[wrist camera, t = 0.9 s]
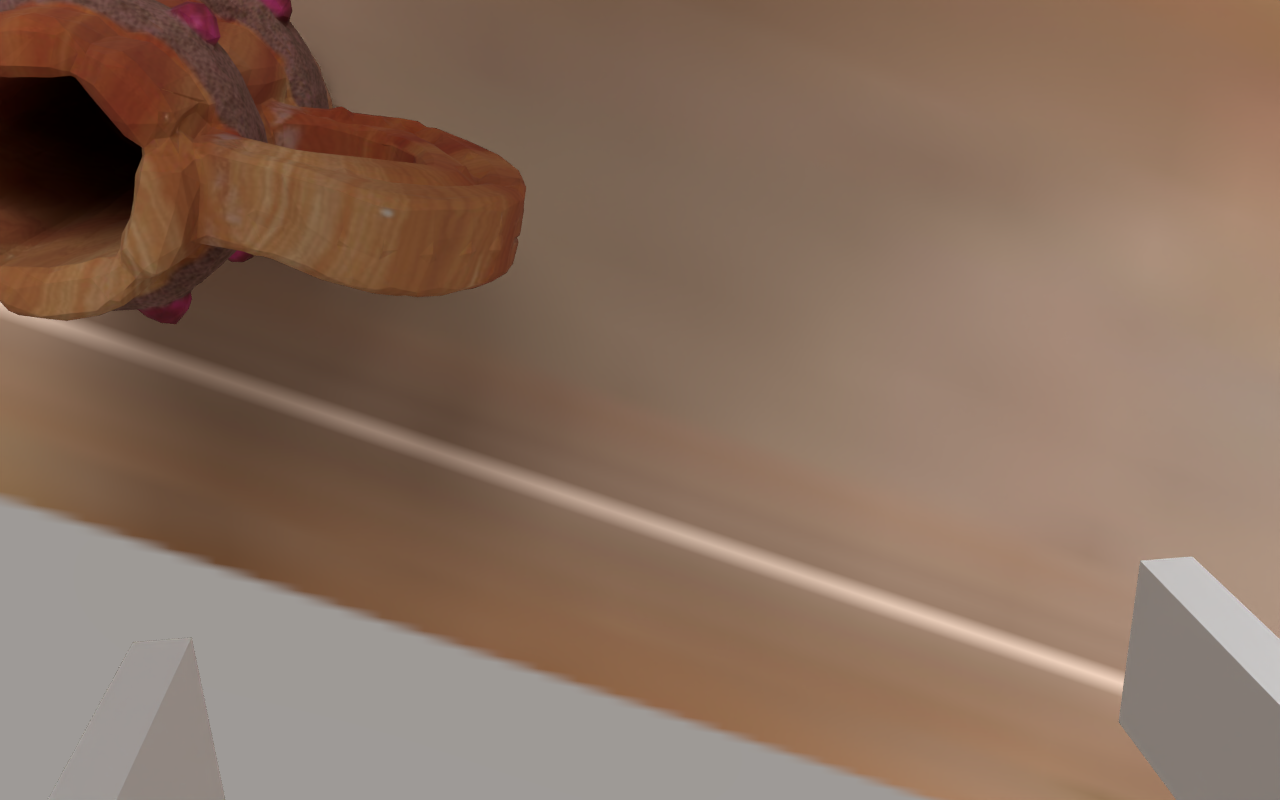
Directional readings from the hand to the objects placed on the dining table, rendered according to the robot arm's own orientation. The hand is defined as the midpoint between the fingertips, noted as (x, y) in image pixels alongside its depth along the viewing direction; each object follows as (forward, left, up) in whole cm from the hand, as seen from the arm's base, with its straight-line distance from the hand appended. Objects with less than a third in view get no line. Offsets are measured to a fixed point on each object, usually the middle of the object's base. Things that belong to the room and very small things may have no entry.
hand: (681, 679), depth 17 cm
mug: (-5, -9, -26) cm, 28 cm away
